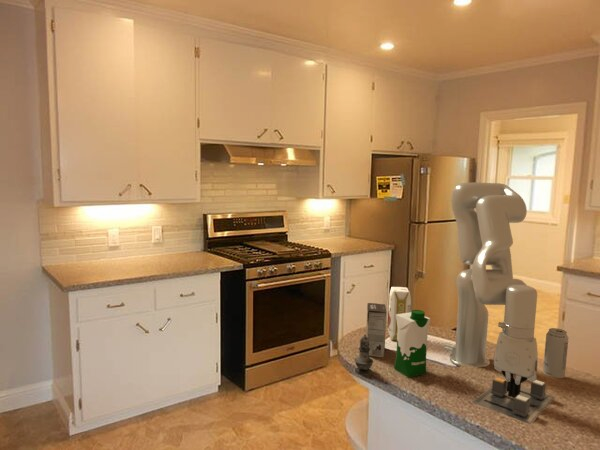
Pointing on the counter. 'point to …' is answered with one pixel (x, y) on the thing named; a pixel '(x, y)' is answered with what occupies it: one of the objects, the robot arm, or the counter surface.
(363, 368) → the grey ornate incense burner
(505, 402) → the panel
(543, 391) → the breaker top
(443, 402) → the counter surface
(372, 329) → the coffee box
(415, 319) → the milk carton
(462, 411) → the counter surface
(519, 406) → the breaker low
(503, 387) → the block
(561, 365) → the energy drink can
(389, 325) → the juice carton
